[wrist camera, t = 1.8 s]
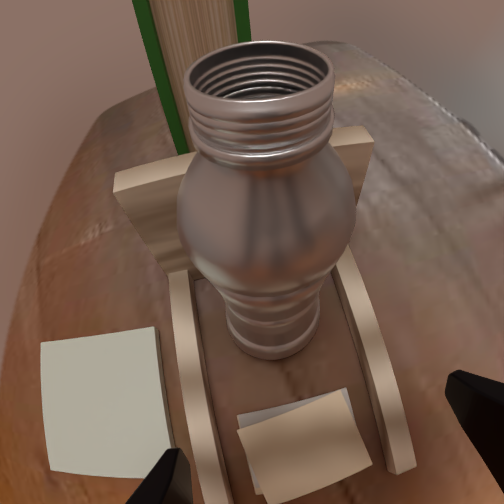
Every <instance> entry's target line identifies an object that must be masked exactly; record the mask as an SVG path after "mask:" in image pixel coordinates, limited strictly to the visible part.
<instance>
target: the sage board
mask: <svg viewBox="0 0 504 504" xmlns="http://www.w3.org/2000/svg"><path fill="white" fill-rule="evenodd" d="M41 391H42V407H43V419H44V429H45V437H46V444H47V451H48V458H49V464H50V469H51V470H54V471H61V472H67V473H75V474H83V475H93V476H104V477H121V478H145V477H146V476H147V475H148V473H149V472H150V471H151V469H152V468H153V467H154V465H155V464H156V463H157V461H158V460H159V459H160V457H161V456H162V455H163V453H164V452H165V451H166V450H167V449H168V448H175V444H174V438H173V433H172V427H171V421H170V416H169V409H168V403H167V397H166V390H165V383H164V375H163V367H162V359H161V350H160V341H159V331H158V329H156V328H155V327H148V328H142V329H136V330H130V331H123V332H117V333H110V334H104V335H97V336H89V337H82V338H75V339H67V340H59V341H50V342H42V343H41Z"/></svg>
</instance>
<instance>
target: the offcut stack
mask: <svg viewBox="0 0 504 504" xmlns="http://www.w3.org/2000/svg"><path fill="white" fill-rule="evenodd" d="M237 419H238V423H239V427H240V429H238V430H237V432H238V435H239V437H240V440H241V442H242V445H243V447H244V450H245V453H246V457H247V461H248V465H249V469H250V473H251V477H252V481H253V485H254V489H255V493H256V495H259V494H264V497H265V499H266V501H267V503H268V504H280V503H283V502H286V501H289V500H292V499H295V498H298V497H300V496H303V495H306V494H308V493H311V492H314V491H316V490H319V489H321V488H323V487H326V486H328V485H331V484H333V483H335V482H337V481H340V480H342V479H344V478H346V477H348V476H350V475H353V474H355V473H357V472H359V471H361V470H363V469H365V468H367V467H369V466H371V465H372V461H371V459H370V457H369V454H368V452H367V450H366V447H365V445H364V443H363V440H362V438H361V436H360V433H359V431H358V429H357V425H356V422H355V418H354V414H353V411H352V407H351V403H350V400H349V396H348V392H347V389H346V388H343V389H340V390H337V391H333V392H330V393H327V394H323V395H320V396H316V397H313V398H309V399H306V400H302V401H298V402H294V403H290V404H286V405H282V406H278V407H274V408H269V409H265V410H260V411H256V412H251V413H246V414H240V415H237Z"/></svg>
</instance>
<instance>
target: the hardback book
mask: <svg viewBox="0 0 504 504" xmlns="http://www.w3.org/2000/svg"><path fill="white" fill-rule="evenodd" d="M132 2H133V6H134V10H135V14H136V17H137V21H138V24H139V28H140V32H141V35H142V39H143V42H144V46H145V49H146V52H147V56H148V60H149V63H150V67H151V70H152V73H153V76H154V80H155V83H156V87H157V90H158V93H159V97H160V100H161V103H162V106H163V109H164V113H165V116H166V119H167V122H168V125H169V128H170V132H171V135H172V138H173V141H174V144H175V147H176V150H177V153H178V156H179V155H183V154H187V153H191V152H196V151H197V150H196V148H195V147H194V145H193V142H192V139H191V135H190V131H189V127H188V124H189V116H190V114H189V110H188V105H187V101H186V97H185V93H184V89H183V87H184V81H183V79H184V74H185V72H186V70H187V68H188V67H189V66H190V65H191V64H192V63H193V62H194V61H196V60H197V59H198V58H200V57H201V56H203V55H205V54H207V53H209V52H211V51H214V50H216V49H219V48H221V47H225V46H228V45H232V44H237V43H242V42H249V41H251V31H250V20H249V9H248V0H132Z"/></svg>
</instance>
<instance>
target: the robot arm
mask: <svg viewBox="0 0 504 504" xmlns="http://www.w3.org/2000/svg"><path fill="white" fill-rule="evenodd" d="M445 396H446V398H447V400H448V402H449V404H450V406H451V408H452V409H453V411H454V413H455V415H456V417H457V419H458V421H459V423H460V425H461V427H462V428H463V430H464V431H465V433H466V434H467V436H468V437H469V439H470V440H471V442H472V444H473V445H474V447H475V448H476V450H477V451H478V453H479V454H480V456H481V457H482V459H483V461H484V462H485V464H486V465H487V467H488V468H489V470H490V472H491V473H492V475H493V477H494V478H495V480H496V482H497V483H498V485H499V487H500V488H501V490H502V492H503V493H504V383H501V382H498V381H495V380H491V379H488V378H485V377H481V376H478V375H475V374H472V373H469V372H465V371H462V370H456V371H454V372H452V373H450V374H449V375H448V379H447V383H446V388H445ZM125 504H193V495H192V483H191V471H190V464H189V462H188V460H187V458H186V456H185V455H184V453H183V451H182V450H181V449H180V448H168V449H167V450H166V451H165V452H164V453H163V455H162V456H161V457H160V459H159V460H158V461H157V463H156V464H155V465H154V467H153V468H152V469H151V471H150V472H149V473H148V475H147V476H146V477H145V479H144V480H143V481H142V483H141V484H140V485H139V486H138V488H137V489H136V490H135V492H134V493H133V494H132V496H131V497H130V498H129V499H128V501H127V502H126V503H125Z"/></svg>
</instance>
